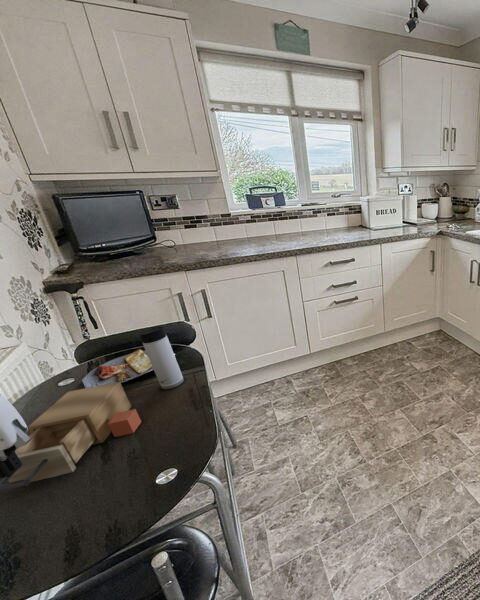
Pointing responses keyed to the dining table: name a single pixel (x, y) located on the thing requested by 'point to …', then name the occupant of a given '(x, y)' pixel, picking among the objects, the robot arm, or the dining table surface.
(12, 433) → the robot arm
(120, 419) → the block
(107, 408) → the cabinet
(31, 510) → the dining table surface
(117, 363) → the food plate
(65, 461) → the drawer
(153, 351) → the travel mug
